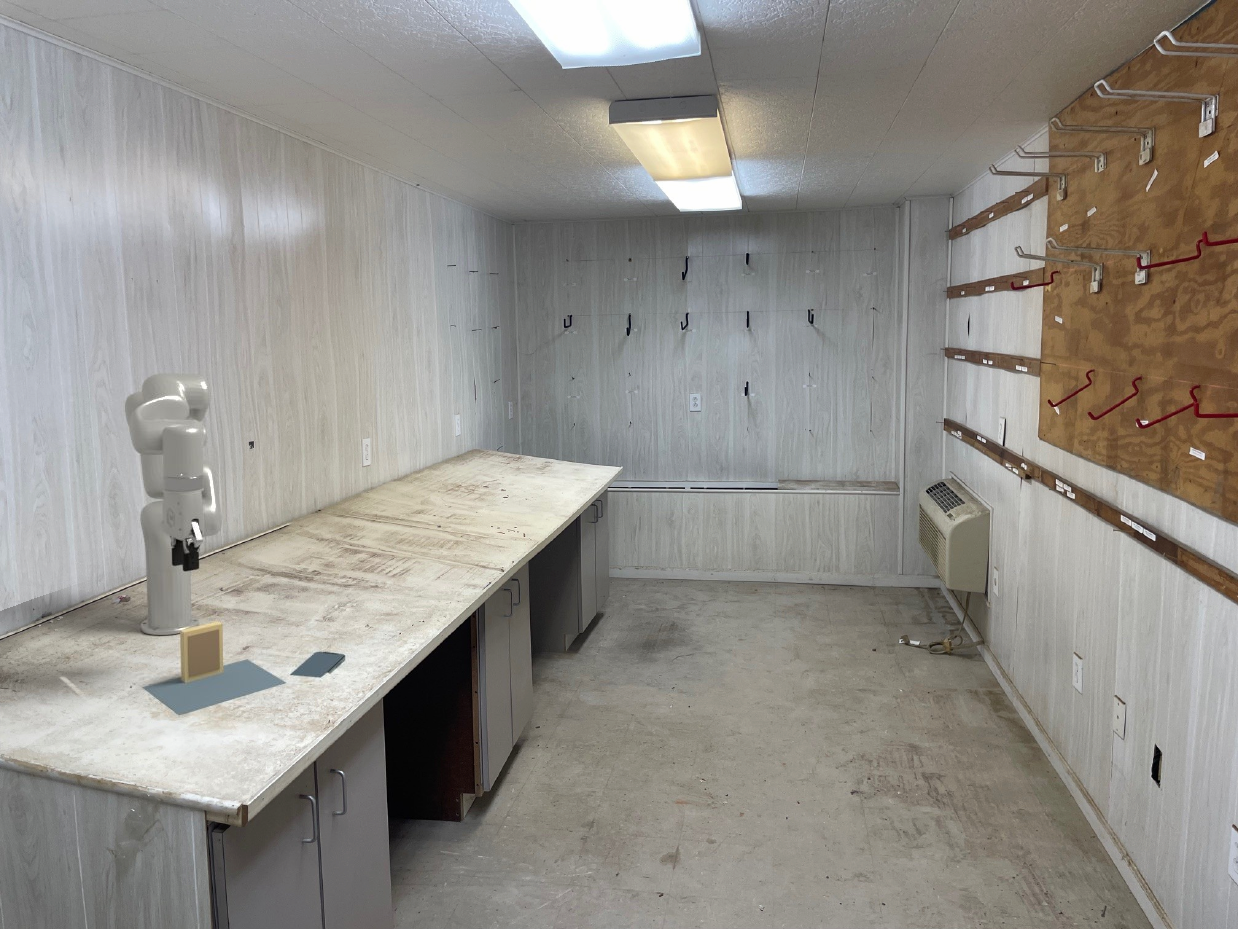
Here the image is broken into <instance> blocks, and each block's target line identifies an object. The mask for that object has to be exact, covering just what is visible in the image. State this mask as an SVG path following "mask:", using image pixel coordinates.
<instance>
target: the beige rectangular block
mask: <svg viewBox="0 0 1238 929" xmlns="http://www.w3.org/2000/svg"><path fill="white" fill-rule="evenodd" d="M223 628H224V627H223V622H220V621H215V622H210V623H206V624H202V625H197V626H196V627H192V628H188V629H183V630H180V633H179V636H180V637H179V639H180V643H179V644H180V677H181V680H182V681H183V682H185V683H186V682H190V681H194V680H197V679H201V678H205V677H208V676H212V675H215V674H219V673H223V666H224V641H223V640H224V637H223V636H224V635H223V634H224V632H223V630H224V629H223Z"/></svg>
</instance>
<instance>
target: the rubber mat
mask: <svg viewBox="0 0 1238 929" xmlns="http://www.w3.org/2000/svg"><path fill="white" fill-rule="evenodd" d="M285 684H287V682H286V681H284V680H283V679H281V678H280V677H278V676H277V675H275V674H272V672H269V671H267V670H266V669H264V668H263V667H261V666H259V665H257V664H256V663H255V662H253V661H251V660H249V659H247V658H246V659H243V660H239V661H235V662H232V663H228V664H223V673H219V674H215V675H212V676H208V677H205V678H201V679H197V680H194V681H190V682H186V683H185V682H183V681H182V680H181V676H180V677H179V676H178V677H175V678H172V679H169V680H165V681H160V682H157V683H153V684H150V685H146V686H143V687H142V689H143V690H145V691H147V693H149V694H150V695H151V696H153V697H154V698H156V700H158V701H160V702H161V703H162V704H164V706H166V707H168V709H170V710H171V711H173V712H174V713H175V714H176V715H178V716H183V715H185V714H188V713H192V712H194V711H198V710H202V709H206V708H208V707H212V706H215V705H218V704H221V703H225V702H228V701H231V700H235V699H239V698H241V697H245V696H248V695H251V694H255V693H258V692H262V691H265V690H267V689H268V690H269V689H272V688H274V687H278V686H282V685H285Z"/></svg>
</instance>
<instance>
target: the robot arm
mask: <svg viewBox="0 0 1238 929" xmlns="http://www.w3.org/2000/svg"><path fill="white" fill-rule="evenodd" d="M211 394H212V392H211V387H210V384H209V382H208V380H207V379H206V378H205V377H204V376H202V375H200V374H197V373H196V374H195V373H157V374H153V375H150V376H148V377H146V379H145V380H144V381H143V383H142V385H141V391H137V392H134V393H130V394H129V395H128V396H127V397H126V398H125V399H126V400H125V401H124V402H125V404H124V411H125V412H124V413H125V417H126V422H127V425H128V429H129V435H130V440H131V443H132V447H133V449H134V450H135V451H136V452H137V453H138V454H140V462H141V464H140V465H141V472H142V480H143V481H142V482H143V487H144V491H145V493H146V495H147V496H148V497H149V498H151V499H154V500H155V499H156V501H151V502H150V503H149V502H148V504H146V505H145V506H144V507H142V508H141V511H140V515H139V516H140V517H139V518H140V519H139V521H140V526H141V527H140V528H141V530H142V536H143V543H144V550H145V567H146V570H145V572H146V574H145V575H146V599H147V600H146V601H147V603H146V604H147V607H146V608H147V619H145V620H144V621H142V622H141V623H140V630H141V631H142V633H145V634H148V635H154V636H168V635H169V636H171V635H176V634H180V630H183V629H188V628H192V627H196V626H199V622H200V620H199V618H198V617H197V616H196V615H194V614H192V579H191V578H192V575H191V574H192V573H191V571H195V570H196V571H197V570H199V569H200V550H201V549H200V547H201V545H202V544H203V543H204V539H203V538H206V537H212V536H215V535H217V534H218V533H219V532H220V531H221V529H222V526H223V525H222V524H223V520H222V519H223V517H222V509H221V503H220V501H221V500H220V495H219V489H218V483H217V482H218V481H217V476H216V470H215V469H214V467H213V465H212V463H210V462H209V461H207V460H205V459H204V450H203V449H204V447H206V445H207V439H208V434H207V429H206V427H205V426H204V425H203V423H201V422H202V421H203V420H204V418H205V417H206V413H207V412H208V409H209V406H210V404H211V397H212V395H211Z"/></svg>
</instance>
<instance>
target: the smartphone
mask: <svg viewBox="0 0 1238 929" xmlns="http://www.w3.org/2000/svg"><path fill="white" fill-rule="evenodd" d="M345 661H346V655H345V653H344V654H343V653H338V652H328V651H315V652H313V654H312V655H310V656H309V657H308V658H307V659H305V661H304V662H303V663H301V664H300V665H299V666H297V667H296V669H294V670H293V671H292V672H291V673H290V674H289V676H296V677H309V678H321V679H322V677H324V676H325V675H326V674H329V675H330V674H332V673H333V672H334V671H335V670H336V669H337V668H338V667H339V666H341V665H342V663H343V662H345Z"/></svg>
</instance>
